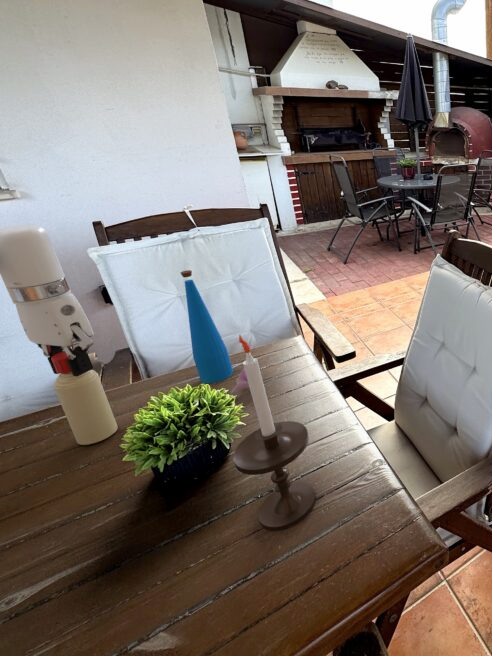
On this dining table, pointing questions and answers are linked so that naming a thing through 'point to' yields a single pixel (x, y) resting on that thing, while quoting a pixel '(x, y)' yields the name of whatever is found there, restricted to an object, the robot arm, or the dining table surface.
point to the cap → (61, 362)
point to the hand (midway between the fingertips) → (74, 370)
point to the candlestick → (274, 457)
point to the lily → (241, 382)
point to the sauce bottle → (85, 406)
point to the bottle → (205, 338)
